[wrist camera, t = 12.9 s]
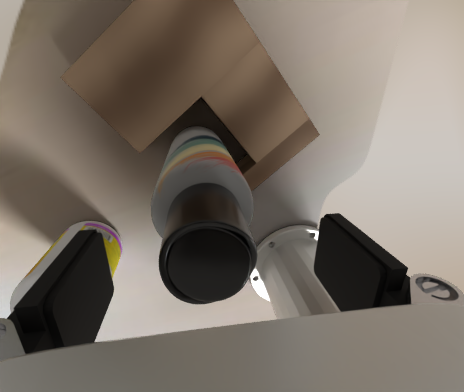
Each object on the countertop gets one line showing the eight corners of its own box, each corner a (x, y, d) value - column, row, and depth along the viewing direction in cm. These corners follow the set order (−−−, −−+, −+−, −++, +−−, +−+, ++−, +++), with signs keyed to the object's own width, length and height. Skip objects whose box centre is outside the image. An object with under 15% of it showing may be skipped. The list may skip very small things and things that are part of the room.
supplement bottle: (76, 271, 31) (7, 383, 19) (52, 225, 28) (-45, 321, 16) (132, 259, 31) (97, 360, 19) (114, 212, 29) (61, 297, 17)
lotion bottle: (205, 185, 29) (229, 345, 11) (161, 159, 27) (98, 299, 9) (233, 144, 28) (316, 247, 9) (188, 114, 26) (183, 167, 7)
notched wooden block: (302, 129, 28) (319, 134, 25) (210, 207, 30) (213, 223, 26) (192, -36, 21) (193, -62, 18) (80, 79, 23) (60, 77, 19)
